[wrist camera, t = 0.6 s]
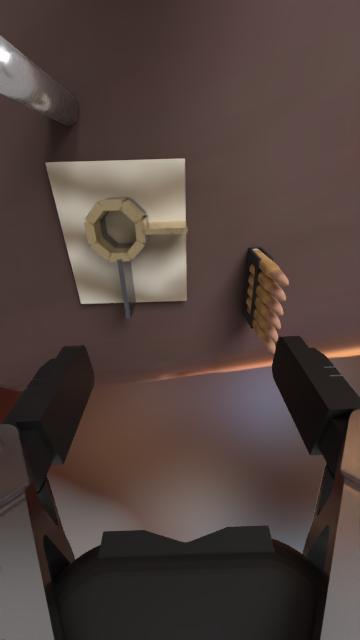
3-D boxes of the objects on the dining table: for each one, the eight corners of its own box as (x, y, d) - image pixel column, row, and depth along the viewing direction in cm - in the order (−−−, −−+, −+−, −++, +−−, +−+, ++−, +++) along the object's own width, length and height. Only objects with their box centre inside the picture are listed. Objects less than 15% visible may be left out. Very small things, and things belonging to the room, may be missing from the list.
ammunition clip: (248, 247, 34) (279, 276, 24) (261, 246, 34) (298, 275, 24) (242, 313, 40) (266, 360, 29) (253, 312, 40) (281, 359, 29)
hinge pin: (47, 90, 26) (-40, 29, 15) (75, 89, 26) (7, 28, 15) (55, 125, 27) (-19, 92, 17) (81, 125, 27) (24, 91, 17)
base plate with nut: (50, 163, 29) (20, 159, 23) (184, 159, 29) (186, 154, 23) (84, 299, 38) (68, 320, 32) (186, 296, 38) (188, 316, 32)
